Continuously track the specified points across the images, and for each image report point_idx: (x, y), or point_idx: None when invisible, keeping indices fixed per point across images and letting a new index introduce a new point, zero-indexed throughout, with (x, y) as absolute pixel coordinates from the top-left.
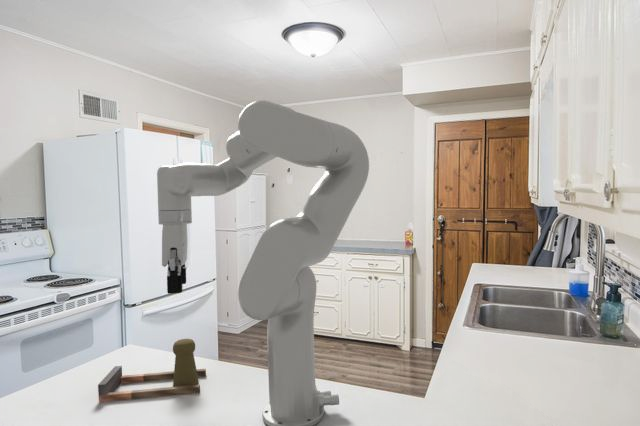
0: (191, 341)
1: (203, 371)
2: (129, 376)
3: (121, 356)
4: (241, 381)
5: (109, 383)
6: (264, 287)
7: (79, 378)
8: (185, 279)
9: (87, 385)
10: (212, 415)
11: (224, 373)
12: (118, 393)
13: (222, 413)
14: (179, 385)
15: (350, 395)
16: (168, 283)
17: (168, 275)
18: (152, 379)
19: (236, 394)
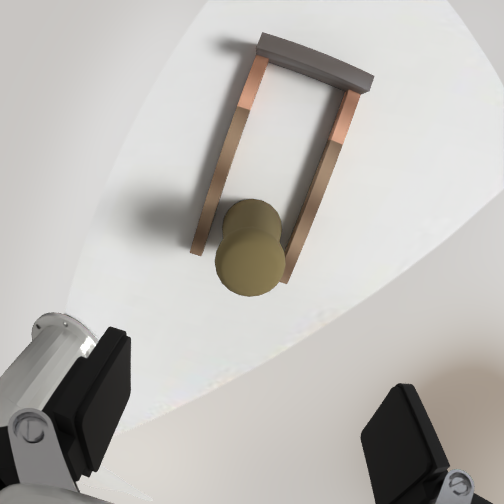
0: (235, 290)
1: None
2: (345, 109)
3: (497, 124)
4: (208, 330)
5: (280, 57)
6: None
7: (420, 25)
8: (369, 453)
9: (373, 30)
10: (96, 252)
11: (267, 312)
12: (250, 79)
13: (97, 268)
14: (228, 214)
15: None
16: (79, 375)
17: (20, 417)
18: (321, 159)
19: (155, 307)
